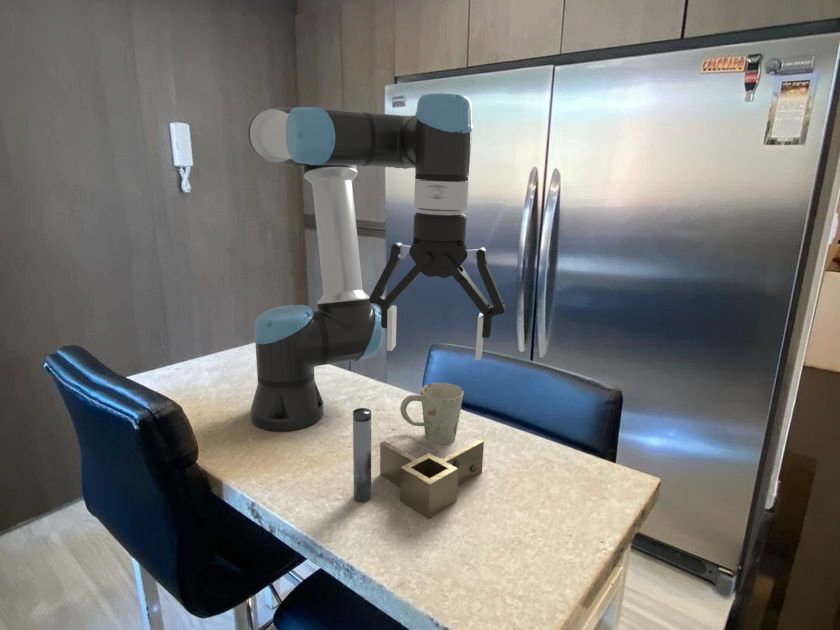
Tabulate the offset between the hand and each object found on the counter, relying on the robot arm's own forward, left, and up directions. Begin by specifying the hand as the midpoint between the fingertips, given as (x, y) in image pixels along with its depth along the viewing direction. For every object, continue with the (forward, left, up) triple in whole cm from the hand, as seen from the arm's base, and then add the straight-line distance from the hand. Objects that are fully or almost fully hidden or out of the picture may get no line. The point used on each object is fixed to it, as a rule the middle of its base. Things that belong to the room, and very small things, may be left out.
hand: (434, 352), depth 80 cm
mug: (-13, +14, -24) cm, 31 cm away
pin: (-6, -9, -24) cm, 27 cm away
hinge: (-2, +3, -24) cm, 24 cm away
